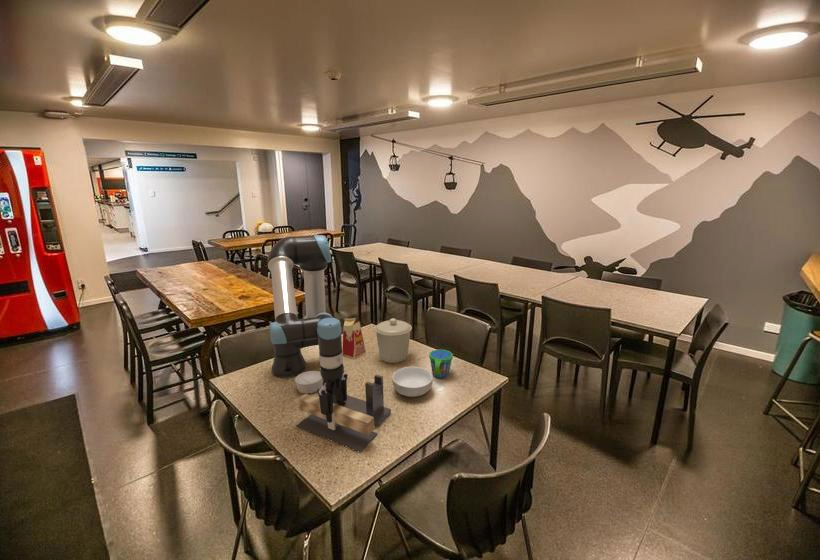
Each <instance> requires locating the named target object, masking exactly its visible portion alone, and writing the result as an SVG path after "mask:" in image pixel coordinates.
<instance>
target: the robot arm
mask: <svg viewBox="0 0 820 560" xmlns="http://www.w3.org/2000/svg"><path fill="white" fill-rule="evenodd" d="M331 255H332V254H331V249H330V245H329V241H328V239H327V237H326V236H325V235H322V234H321V235H320V234H319V235H318V234H313V235H312V234H311V235H296V236H295V235H294V236H292V235H291V236H285V237H283V238H281V239H279V240H278V241H277V242H275V244H273V246H272V247H271V248H270V251H269V253H268V256H267V268H268V270H269V271H270V274H271V284H272V285H271V287H272V298H273V310H274V312H273V313H274V322H270V323H269V336H270V342H271V344H272V345H273V353H274V358H273V363H272V365H271V373H272V374H273V376H276V377H278V378H279V377H280V378H290V377H294V376H298V375H299V374H301V373H304V372H305V370H306V369H307V364H306V363H307V362H306V361H305V358H304V355H303V354H302V351H301V350H302V349H301V348H309V347H315V346H318V349H319V350H318V354H319V355H318V356H319V365H320V367H319V368H320V373H321V377H322V385H321V388H320V389H318V390H317V391H316V393H317V395H318V398H319V401H320V409H321V414H323V415H326V420H327V422H328V428H329V429H332V430H335V414H334V412H333V397H334V394H335V399H336V403H338V404H337V405H340V406H343V405H344V406H345V404H346V403H345V402H344V401H346V400H347V395H348V391H347V390H348V385H347V384H348V382H347V381H348V374H347V373H345V370H344V371H343V366H344V364H343V362H344V361H343V359H344V356H343V337H342V333H343V329H342V326H341V325H342V324H341V321H340V320H339V319H338V318H336V317H333V316H332V315H331V314H330V313H328V312H326V289H325V287H326V286H325V270H326V269H327V268H328V263H331V262H332V256H331ZM294 265H295V266H297V265H298V266H299V269H300V270H301V271H303V280H304V281H303V282H304V283H303V285H304V299H305V302H304V303H305V313H306V315H304V317H303V318H298V311H297V301H296V294H295V286H294V278H293V268H294Z"/></svg>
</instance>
